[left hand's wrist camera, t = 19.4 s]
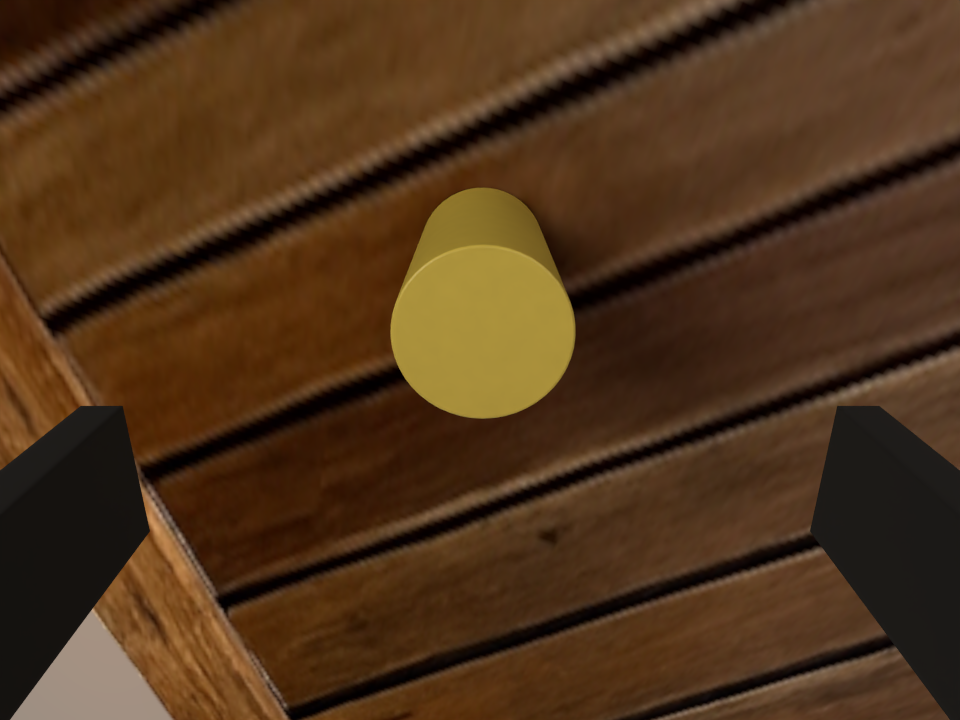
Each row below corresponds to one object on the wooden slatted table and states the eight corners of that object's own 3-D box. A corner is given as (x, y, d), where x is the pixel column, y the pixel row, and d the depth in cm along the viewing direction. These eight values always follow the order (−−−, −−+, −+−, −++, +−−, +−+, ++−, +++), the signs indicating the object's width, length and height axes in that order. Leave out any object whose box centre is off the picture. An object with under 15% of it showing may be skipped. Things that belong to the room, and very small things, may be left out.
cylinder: (395, 249, 29) (351, 336, 19) (482, 160, 28) (483, 203, 18) (481, 331, 31) (482, 451, 21) (568, 249, 29) (614, 337, 19)
